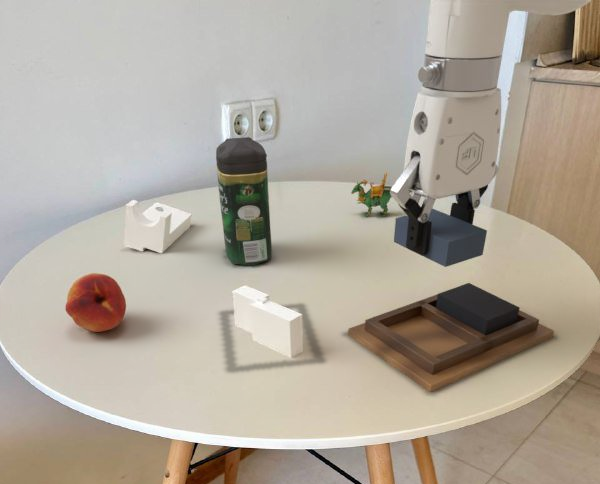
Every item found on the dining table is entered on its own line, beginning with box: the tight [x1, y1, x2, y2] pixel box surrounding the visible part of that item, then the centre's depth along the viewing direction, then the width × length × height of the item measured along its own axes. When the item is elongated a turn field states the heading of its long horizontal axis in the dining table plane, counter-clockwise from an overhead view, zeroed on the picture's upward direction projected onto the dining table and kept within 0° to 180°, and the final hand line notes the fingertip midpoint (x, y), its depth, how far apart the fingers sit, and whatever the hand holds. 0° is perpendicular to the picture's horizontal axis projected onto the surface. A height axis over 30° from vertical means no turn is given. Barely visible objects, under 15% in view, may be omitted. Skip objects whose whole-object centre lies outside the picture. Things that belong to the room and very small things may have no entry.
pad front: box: [393, 208, 488, 268], centre depth 70 cm, size 9×6×3 cm, turn 33°
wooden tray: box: [347, 293, 555, 393], centre depth 78 cm, size 16×22×2 cm
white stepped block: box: [231, 284, 304, 359], centre depth 78 cm, size 15×11×6 cm
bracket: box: [123, 199, 193, 254], centre depth 106 cm, size 13×7×8 cm, turn 166°
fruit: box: [65, 272, 127, 333], centre depth 80 cm, size 8×8×8 cm
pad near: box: [436, 282, 520, 335], centre depth 80 cm, size 9×6×3 cm, turn 33°
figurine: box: [351, 172, 412, 218], centre depth 114 cm, size 3×12×8 cm, turn 87°
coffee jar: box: [215, 136, 273, 266], centre depth 96 cm, size 10×8×19 cm
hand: (438, 243), depth 71 cm, fingers closed on pad front, 6 cm apart
